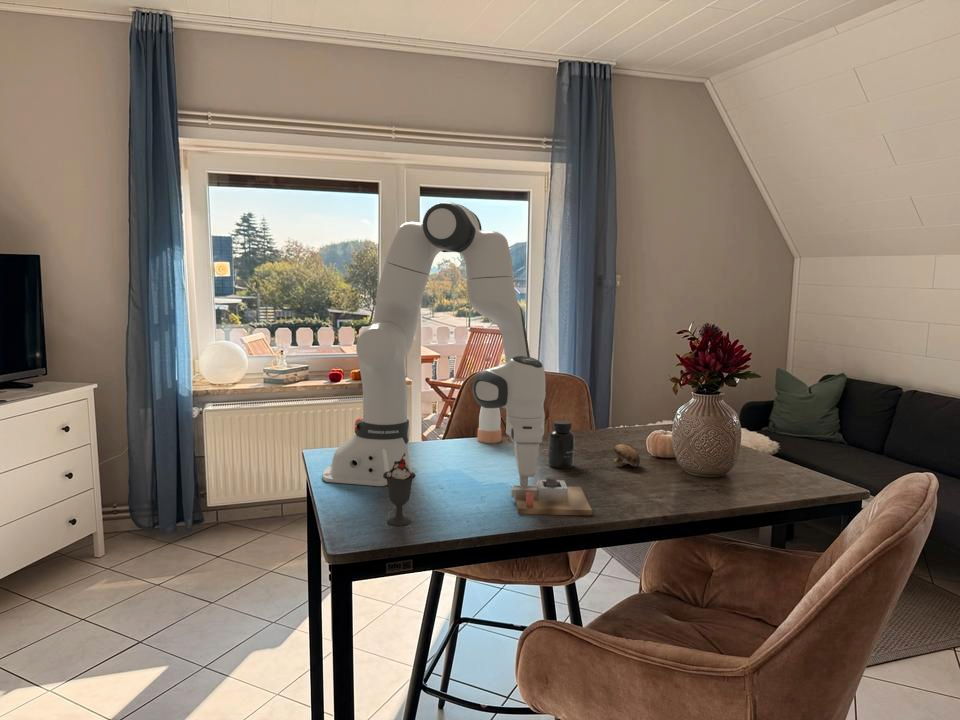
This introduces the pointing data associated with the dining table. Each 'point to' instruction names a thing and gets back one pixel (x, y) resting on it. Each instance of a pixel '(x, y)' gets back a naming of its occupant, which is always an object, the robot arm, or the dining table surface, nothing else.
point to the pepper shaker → (489, 425)
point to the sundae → (399, 489)
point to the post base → (573, 506)
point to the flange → (543, 492)
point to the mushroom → (626, 456)
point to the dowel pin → (529, 499)
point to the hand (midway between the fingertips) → (523, 484)
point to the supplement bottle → (561, 445)
